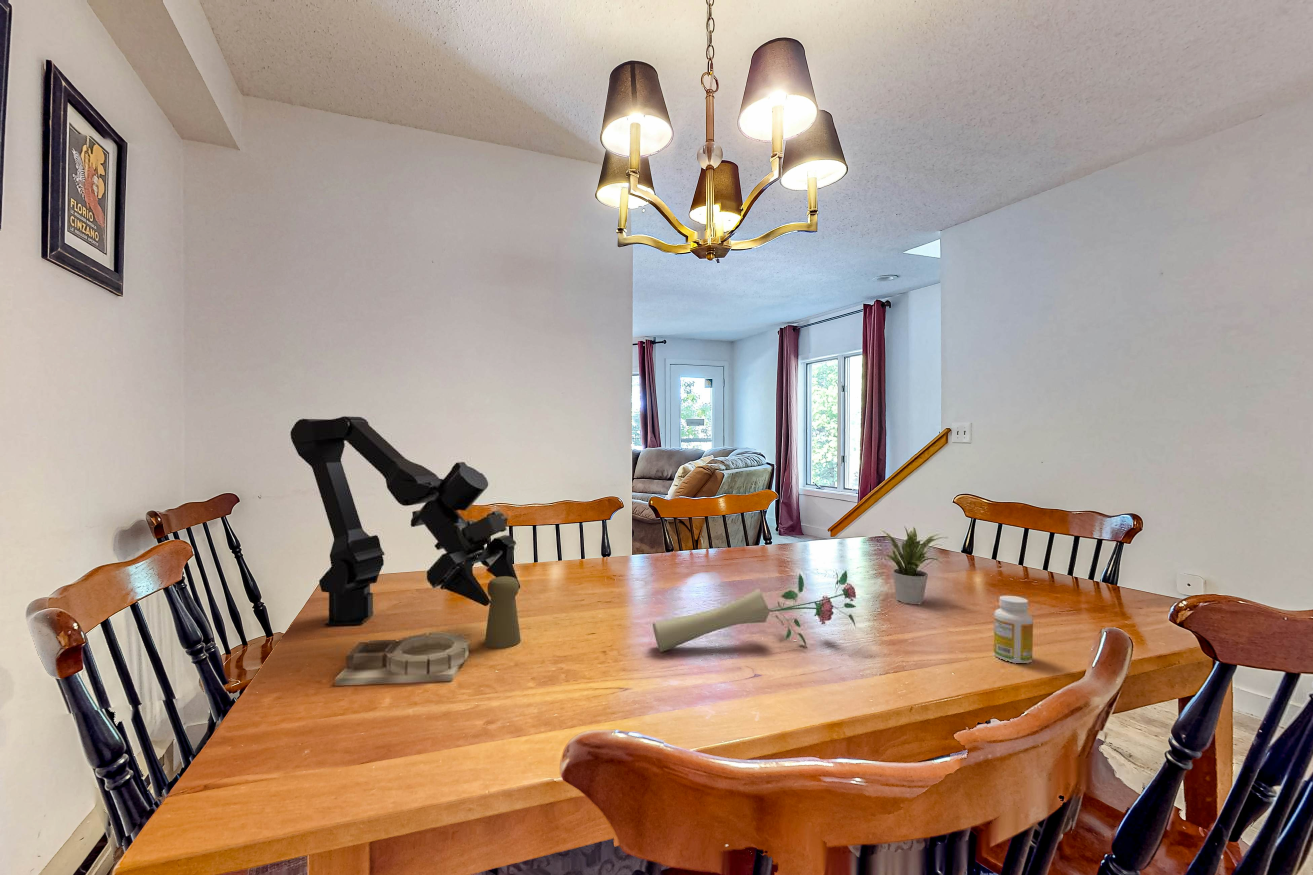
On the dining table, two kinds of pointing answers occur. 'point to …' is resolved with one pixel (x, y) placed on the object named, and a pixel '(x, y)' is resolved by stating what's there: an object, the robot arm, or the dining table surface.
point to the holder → (405, 660)
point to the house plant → (910, 567)
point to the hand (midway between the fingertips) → (504, 596)
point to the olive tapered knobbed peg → (502, 613)
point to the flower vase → (742, 615)
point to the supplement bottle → (1013, 630)
